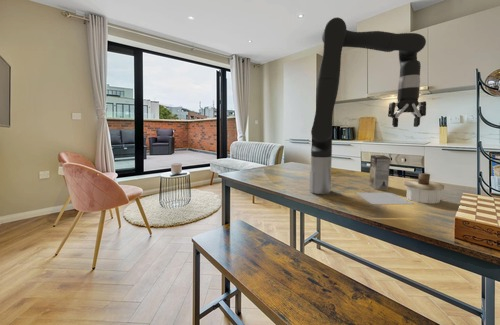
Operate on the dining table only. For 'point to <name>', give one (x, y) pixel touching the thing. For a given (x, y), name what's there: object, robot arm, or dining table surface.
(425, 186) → the lid
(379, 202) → the mat
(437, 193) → the bowl
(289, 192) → the dining table surface
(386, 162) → the coffee box
